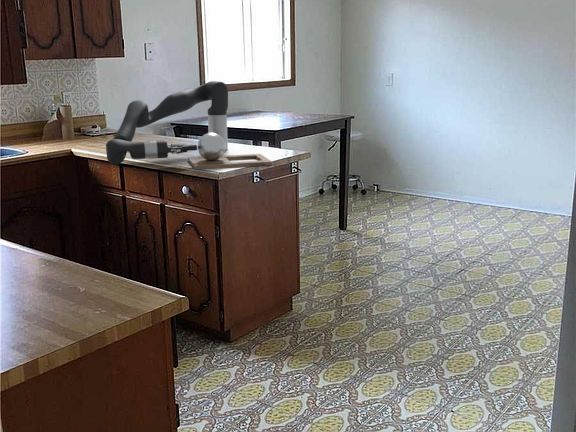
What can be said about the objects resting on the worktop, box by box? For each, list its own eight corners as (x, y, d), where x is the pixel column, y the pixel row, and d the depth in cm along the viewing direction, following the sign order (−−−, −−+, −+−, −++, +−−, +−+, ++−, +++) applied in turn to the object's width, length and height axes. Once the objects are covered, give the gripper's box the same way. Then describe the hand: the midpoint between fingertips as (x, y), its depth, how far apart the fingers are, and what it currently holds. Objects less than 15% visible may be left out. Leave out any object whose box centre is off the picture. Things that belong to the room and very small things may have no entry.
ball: (196, 159, 276) (194, 131, 272) (223, 157, 279) (222, 130, 276) (200, 163, 264) (199, 135, 261) (228, 161, 268) (227, 133, 264)
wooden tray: (188, 160, 280) (187, 157, 279) (260, 156, 289) (259, 153, 288) (195, 169, 259) (194, 166, 259) (272, 165, 268) (272, 161, 268)
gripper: (156, 142, 257) (198, 140, 261) (153, 138, 269) (194, 136, 273) (157, 161, 258) (199, 158, 263) (154, 156, 271) (195, 153, 275)
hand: (196, 147), depth 268 cm, fingers closed
